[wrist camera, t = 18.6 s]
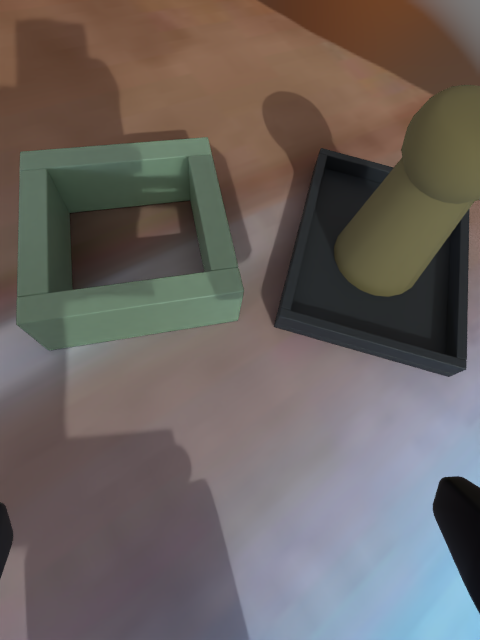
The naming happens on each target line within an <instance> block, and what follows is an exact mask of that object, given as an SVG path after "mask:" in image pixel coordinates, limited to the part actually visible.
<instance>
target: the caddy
mask: <svg viewBox="0 0 480 640" xmlns="http://www.w3.org/2000/svg"><path fill="white" fill-rule="evenodd" d="M189 200H190V201H191V206H192V211H193V216H194V222H195V227H196V232H197V237H198V242H199V247H200V252H201V258H202V263H203V268H204V272H201V273H194V274H187V275H179V276H172V277H164V278H157V279H150V280H142V281H135V282H128V283H120V284H113V285H105V286H98V287H91V288H83V289H76V290H73V287H72V263H71V238H70V214H69V213H74V212H83V211H93V210H102V209H112V208H122V207H131V206H141V205H151V204H160V203H170V202H179V201H189ZM243 293H244V289H243V284H242V280H241V276H240V272H239V268H238V263H237V259H236V255H235V250H234V246H233V242H232V238H231V233H230V229H229V225H228V221H227V217H226V212H225V208H224V204H223V200H222V195H221V191H220V187H219V183H218V178H217V174H216V170H215V166H214V161H213V157H212V153H211V149H210V145H209V140H208V138H207V137H204V138H191V139H178V140H165V141H152V142H139V143H127V144H114V145H101V146H88V147H75V148H62V149H49V150H36V151H23V152H20V185H19V230H18V274H17V297H18V298H17V315H16V324H17V325H18V326H19V327H20V328H21V329H23V330H24V331H25V332H26V333H28V334H29V335H30V336H31V337H32V338H34V339H35V340H36V341H37V342H39V343H40V344H41V345H42V346H43V347H45V348H46V349H47V350H55V349H62V348H68V347H74V346H81V345H87V344H93V343H100V342H106V341H112V340H119V339H125V338H131V337H138V336H144V335H150V334H157V333H163V332H169V331H175V330H182V329H188V328H194V327H201V326H207V325H213V324H220V323H226V322H232V321H237V320H238V317H239V312H240V308H241V303H242V298H243Z"/></svg>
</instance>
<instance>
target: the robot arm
mask: <svg viewBox="0 0 480 640" xmlns="http://www.w3.org/2000/svg"><path fill="white" fill-rule="evenodd" d="M433 513H434V516H435V519H436V521H437V523H438V526H439V528H440V530H441V532H442V535H443V537H444V539H445V541H446V544H447V546H448V548H449V550H450V553H451V555H452V557H453V559H454V562H455V564H456V566H457V568H458V571H459V573H460V575H461V577H462V580H463V582H464V584H465V586H466V588H467V590H468V592H469V594H470V596H471V598H472V600H473V602H474V604H475V606H476V608H477V610H478V611H479V613H480V488H479V487H478V486H476V485H475V484H473V483H471V482H470V481H468V480H467V479H465V478H463V477H444V478H442V479H441V480H440V482H439V485H438V489H437V492H436V495H435V499H434V502H433ZM12 541H13V530H12V526H11V523H10V519H9V516H8V512H7V509H6V506H5V505H4V504H3V503H1V502H0V578H1V575H2V572H3V569H4V566H5V563H6V561H7V558H8V555H9V552H10V549H11V545H12Z"/></svg>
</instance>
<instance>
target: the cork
mask: <svg viewBox="0 0 480 640" xmlns="http://www.w3.org/2000/svg"><path fill="white" fill-rule="evenodd" d="M401 151H402V158H401V160H400V161H399V162H398V163H397V165H396V166H395V167H394V168H393V169H392V171H391V172H390V173H389V174H388V176H387V177H386V178H385V179H384V180H383V182H382V183H381V184H380V185H379V187H378V188H377V189H376V190H375V191H374V193H373V194H372V195H371V196H370V198H369V199H368V200H367V201H366V202H365V204H364V205H363V206H362V207H361V209H360V210H359V211H358V212H357V213H356V215H355V216H354V217H353V218H352V220H351V221H350V222H349V223H348V224H347V226H346V227H345V228H344V229H343V231H342V232H341V233H340V234H339V236H338V237H337V240H336V243H335V246H334V256H335V261H336V263H337V266H338V268H339V271H340V272H341V273H342V274H343V276H344V277H345V278H346V279H347V280H348V282H350V283H351V284H352V285H354V286H355V287H357V288H358V289H360V290H361V291H364V292H367V293H369V294H372V295H375V296H386V297H390V296H394V295H399V294H402V293H404V292H405V291H407V290H409V289H410V288H412V286H413V285H414V284H415V282H416V281H417V280H418V278H419V277H420V275H421V274H422V273H423V271H424V270H425V269H426V267H427V266H428V264H429V263H430V262H431V260H432V259H433V258H434V256H435V255H436V253H437V252H438V251H439V249H440V248H441V247H442V245H443V244H444V242H445V241H446V240H447V238H448V237H449V236H450V234H451V233H452V231H453V230H454V229H455V227H456V226H457V225H458V223H459V222H460V220H461V219H462V218H463V216H464V215H465V214H466V212H467V211H468V209H469V208H470V207H471V205H472V204H473V203H474V201H477V200H480V86H474V85H461V86H453V87H450V88H448V89H445V90H443V91H441V92H439V93H438V94H436V95H434V96H433V97H431V98H430V99H429V100H428V101H427V102H426V103H425V104H424V105H423V106H422V108H421V109H420V110H419V111H418V112H417V113H416V114H415V115H414V116H413V118H412V120H411V122H410V124H409V125H408V127H407V131H406V135H405V138H404V142H403V145H402V149H401Z"/></svg>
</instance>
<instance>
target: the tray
mask: <svg viewBox="0 0 480 640" xmlns="http://www.w3.org/2000/svg"><path fill="white" fill-rule="evenodd" d="M392 169H393V167H389V166H386V165H382V164H378V163H375V162H371V161H367V160H364V159H360V158H356V157H352V156H349V155H345V154H341V153H338V152H334V151H330V150H327V149H323V148H321V149H320V152H319V155H318V158H317V161H316V164H315V167H314V171H313V175H312V179H311V183H310V187H309V190H308V194H307V198H306V202H305V206H304V210H303V214H302V218H301V222H300V226H299V230H298V234H297V238H296V242H295V245H294V249H293V253H292V257H291V261H290V265H289V269H288V273H287V277H286V281H285V285H284V289H283V293H282V297H281V300H280V304H279V308H278V312H277V316H276V320H275V324H274V327H276V328H280V329H283V330H287V331H290V332H294V333H297V334H301V335H304V336H308V337H311V338H315V339H318V340H322V341H325V342H329V343H332V344H336V345H339V346H343V347H346V348H350V349H353V350H357V351H360V352H364V353H368V354H371V355H375V356H378V357H382V358H385V359H389V360H392V361H396V362H399V363H403V364H406V365H410V366H413V367H417V368H420V369H424V370H427V371H431V372H434V373H438V374H441V375H445V376H448V377H449V376H452V375H453V374H456V373H459V372H461V371H463V370H466V359H467V310H468V254H469V209H468V211H467V212H466V214H465V215H464V216H463V218H462V219H461V220H460V222H459V223H458V225H457V226H456V227H455V229H454V230H453V231H452V233H451V234H450V236H449V237H448V238H447V240H446V241H445V242H444V244H443V245H442V247H441V248H440V249H439V251H438V252H437V253H436V255H435V256H434V258H433V259H432V260H431V262H430V263H429V264H428V266H427V267H426V269H425V270H424V271H423V273H422V274H421V275H420V277H419V278H418V280H417V281H416V282H415V284H414V285H413V286H412V288H410V289H409V290H407V291H405V292H404V293H402V294H399V295H394V296H390V297H386V296H375V295H372V294H369V293H367V292H364V291H361V290H360V289H358V288H357V287H355V286H354V285H352V284H351V283H350V282H348V280H347V279H346V278H345V277H344V276H343V274H342V273H341V272H340V271H339V268H338V266H337V263H336V261H335V256H334V246H335V243H336V240H337V237H338V236H339V234H340V233H341V232H342V231H343V229H344V228H345V227H346V226H347V224H348V223H349V222H350V221H351V220H352V218H353V217H354V216H355V215H356V213H357V212H358V211H359V210H360V209H361V207H362V206H363V205H364V204H365V202H366V201H367V200H368V199H369V198H370V196H371V195H372V194H373V193H374V191H375V190H376V189H377V188H378V187H379V185H380V184H381V183H382V182H383V180H384V179H385V178H386V177H387V176H388V174H389V173H390V172H391V171H392Z"/></svg>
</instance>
